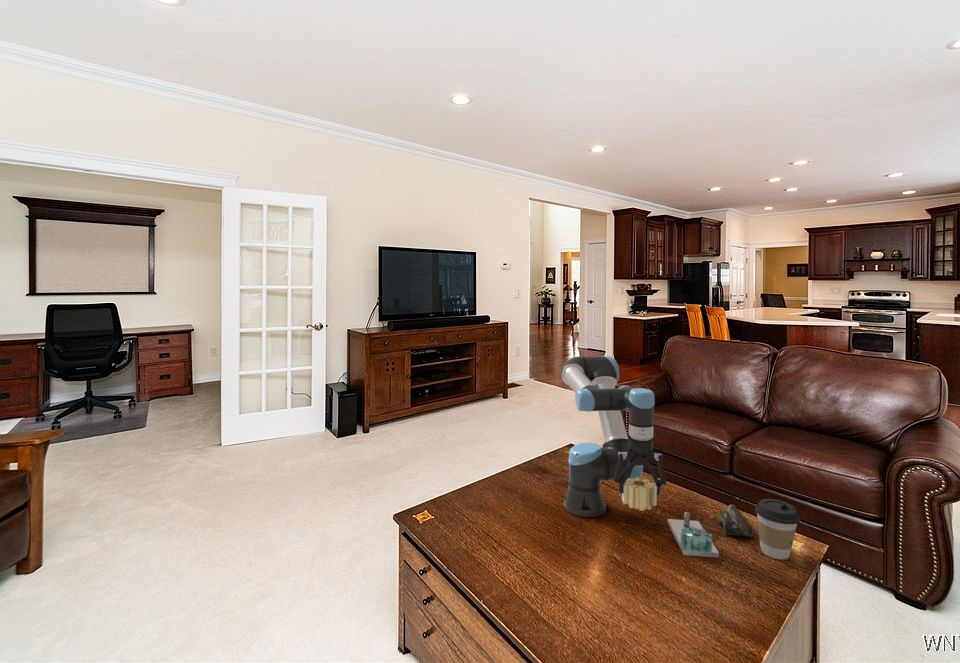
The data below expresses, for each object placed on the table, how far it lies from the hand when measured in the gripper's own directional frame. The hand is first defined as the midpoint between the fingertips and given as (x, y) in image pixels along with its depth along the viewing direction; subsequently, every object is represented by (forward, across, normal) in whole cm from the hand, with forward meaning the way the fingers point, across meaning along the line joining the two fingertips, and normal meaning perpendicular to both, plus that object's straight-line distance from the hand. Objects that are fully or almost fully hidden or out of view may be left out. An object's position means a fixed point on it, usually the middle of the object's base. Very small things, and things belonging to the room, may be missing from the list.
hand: (638, 502), depth 143 cm
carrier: (+11, +16, -1) cm, 20 cm away
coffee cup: (+11, +39, -6) cm, 41 cm away
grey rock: (+11, +32, +5) cm, 34 cm away
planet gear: (0, 0, 0) cm, 0 cm away
